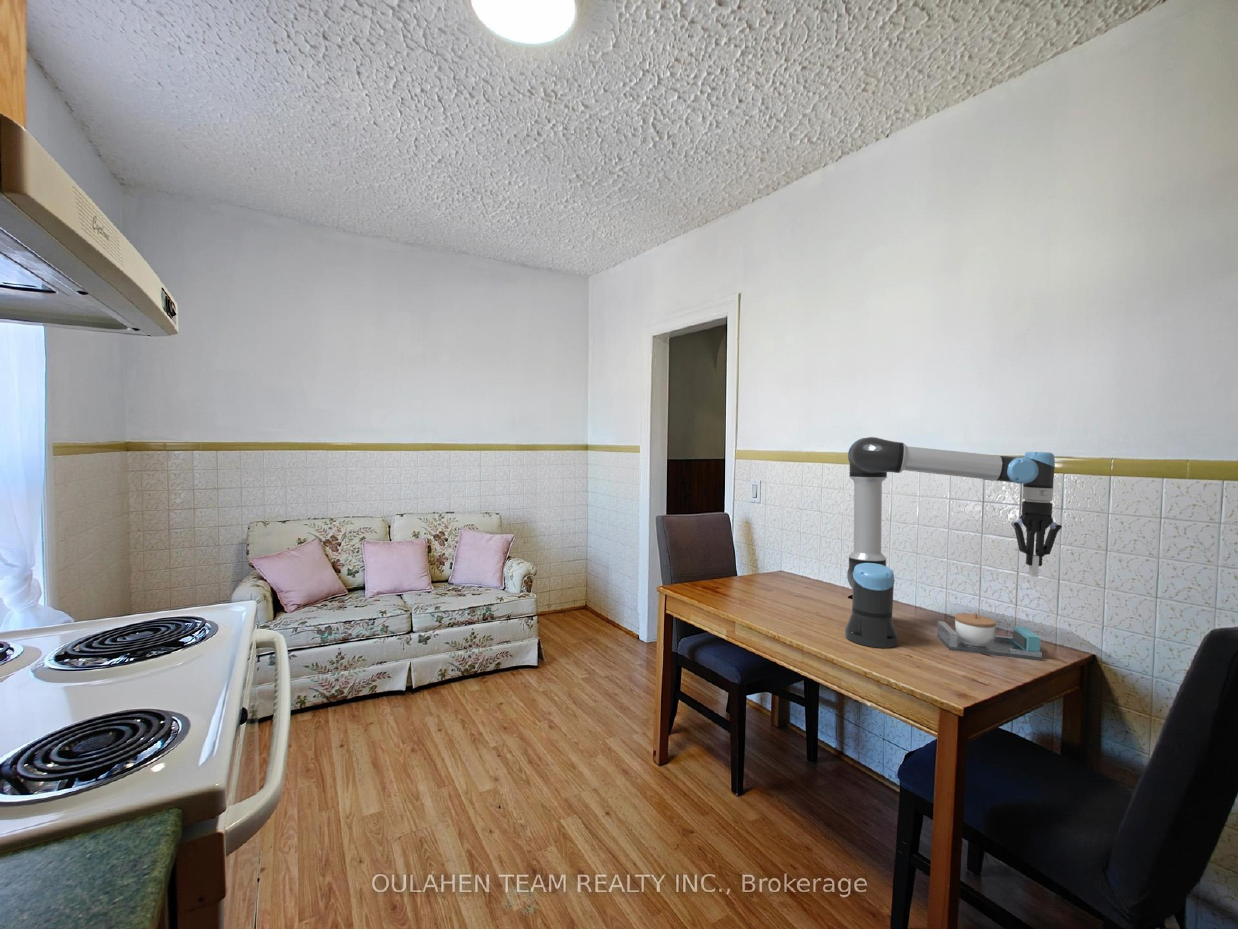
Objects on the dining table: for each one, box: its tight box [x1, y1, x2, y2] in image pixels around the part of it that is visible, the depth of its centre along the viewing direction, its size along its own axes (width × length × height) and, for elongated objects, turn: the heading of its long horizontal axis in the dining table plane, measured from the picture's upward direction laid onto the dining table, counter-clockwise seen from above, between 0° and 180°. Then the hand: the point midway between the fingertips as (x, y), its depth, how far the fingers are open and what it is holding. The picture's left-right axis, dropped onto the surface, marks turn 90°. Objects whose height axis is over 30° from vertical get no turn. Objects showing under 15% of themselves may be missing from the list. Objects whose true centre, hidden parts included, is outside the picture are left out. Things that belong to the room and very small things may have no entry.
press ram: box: [1012, 625, 1041, 652], centre depth 166 cm, size 4×10×5 cm, turn 164°
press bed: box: [936, 620, 1043, 661], centre depth 169 cm, size 24×13×5 cm, turn 74°
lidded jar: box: [954, 612, 997, 646], centre depth 169 cm, size 11×11×9 cm
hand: (1033, 575), depth 170 cm, fingers closed
